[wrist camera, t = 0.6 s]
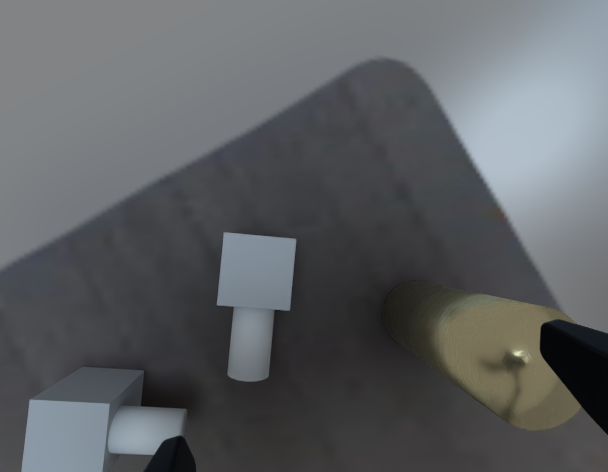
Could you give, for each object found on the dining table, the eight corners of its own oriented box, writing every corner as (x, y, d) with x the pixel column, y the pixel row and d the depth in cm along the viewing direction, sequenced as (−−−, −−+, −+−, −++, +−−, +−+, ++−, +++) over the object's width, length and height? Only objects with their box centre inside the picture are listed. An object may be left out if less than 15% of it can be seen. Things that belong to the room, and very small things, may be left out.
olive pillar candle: (438, 354, 27) (579, 442, 15) (375, 338, 27) (465, 414, 14) (453, 289, 27) (605, 323, 15) (391, 273, 27) (494, 292, 15)
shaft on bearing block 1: (75, 427, 25) (20, 478, 19) (82, 366, 25) (29, 399, 20) (192, 433, 25) (171, 483, 20) (198, 373, 26) (179, 407, 20)
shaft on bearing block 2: (233, 235, 26) (224, 232, 21) (290, 241, 27) (296, 239, 21) (222, 353, 26) (209, 381, 20) (280, 356, 26) (282, 385, 21)
